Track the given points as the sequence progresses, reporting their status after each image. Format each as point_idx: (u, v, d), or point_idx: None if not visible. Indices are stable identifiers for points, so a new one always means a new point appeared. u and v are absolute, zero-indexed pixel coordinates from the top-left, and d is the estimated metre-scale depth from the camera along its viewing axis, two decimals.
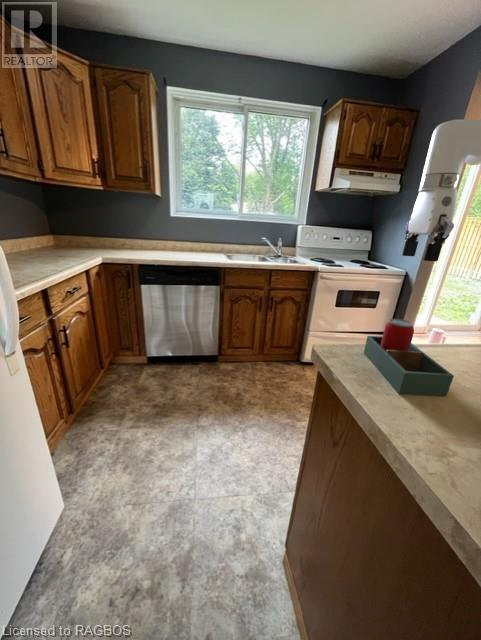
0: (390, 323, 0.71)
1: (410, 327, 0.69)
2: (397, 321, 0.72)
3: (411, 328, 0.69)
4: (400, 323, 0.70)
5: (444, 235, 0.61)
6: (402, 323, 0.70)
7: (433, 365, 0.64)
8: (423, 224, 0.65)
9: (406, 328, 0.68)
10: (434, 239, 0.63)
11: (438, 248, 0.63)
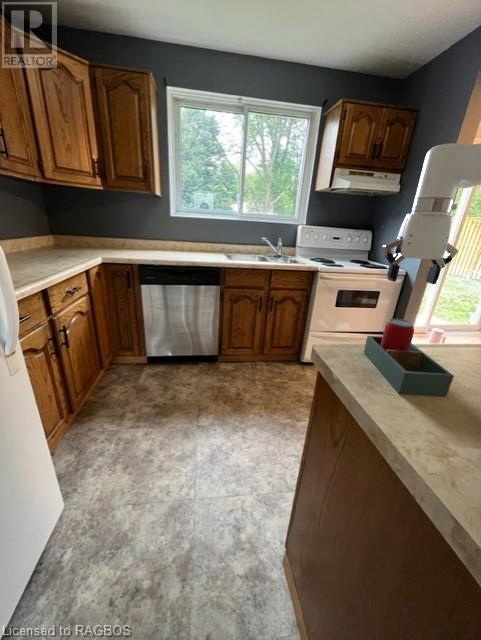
0: (390, 323, 0.71)
1: (410, 327, 0.69)
2: (397, 321, 0.72)
3: (411, 328, 0.69)
4: (400, 323, 0.70)
5: None
6: (402, 323, 0.70)
7: (433, 365, 0.64)
8: (435, 249, 0.63)
9: (406, 328, 0.68)
10: None
11: None
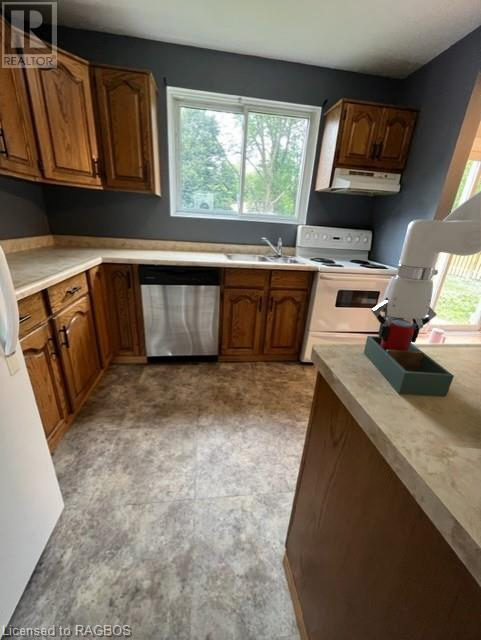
0: (390, 323, 0.71)
1: (410, 327, 0.69)
2: (397, 321, 0.72)
3: (411, 328, 0.69)
4: (400, 323, 0.70)
5: None
6: (402, 323, 0.70)
7: (433, 365, 0.64)
8: (418, 311, 0.67)
9: (406, 328, 0.68)
10: None
11: None
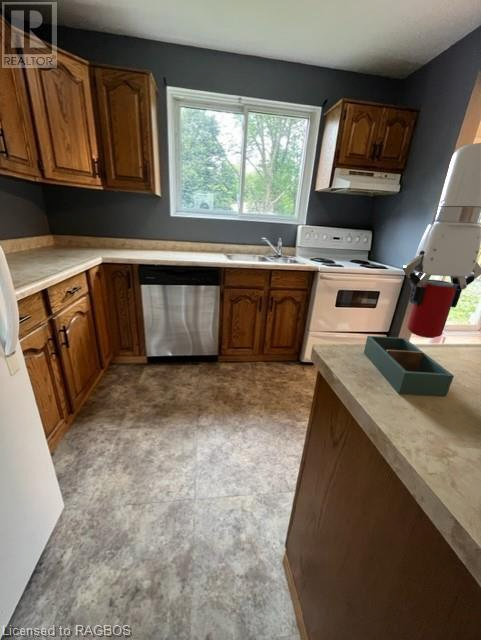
0: (425, 283, 0.58)
1: (451, 287, 0.56)
2: (433, 281, 0.59)
3: (452, 288, 0.56)
4: (438, 283, 0.57)
5: None
6: (440, 283, 0.57)
7: (433, 365, 0.64)
8: (462, 265, 0.54)
9: (446, 288, 0.55)
10: None
11: None
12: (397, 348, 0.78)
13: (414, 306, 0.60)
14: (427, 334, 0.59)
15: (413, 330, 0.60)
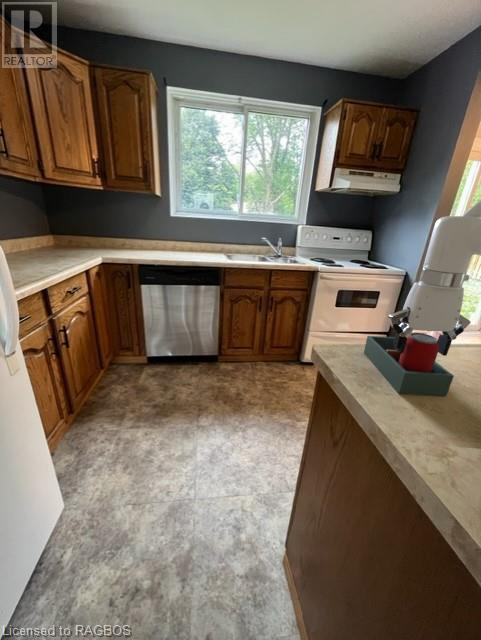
0: (411, 338, 0.62)
1: (435, 343, 0.59)
2: (419, 336, 0.63)
3: (436, 345, 0.60)
4: (423, 338, 0.61)
5: None
6: (425, 338, 0.61)
7: None
8: (445, 322, 0.58)
9: (430, 345, 0.59)
10: None
11: None
12: None
13: (401, 357, 0.64)
14: None
15: None
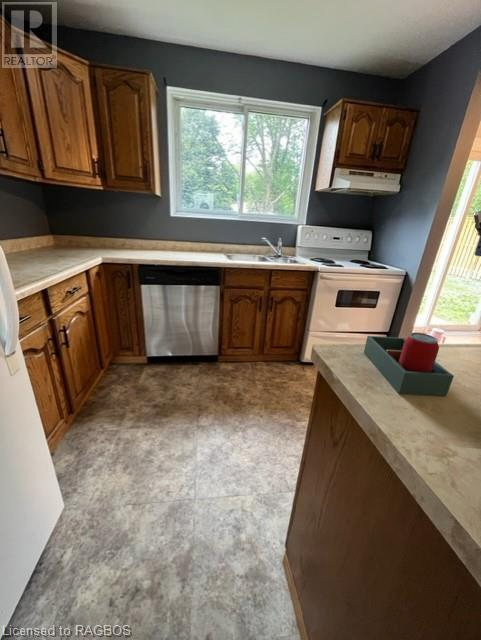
0: (411, 338, 0.62)
1: (435, 343, 0.59)
2: (419, 336, 0.63)
3: (436, 345, 0.60)
4: (423, 338, 0.61)
5: None
6: (425, 338, 0.61)
7: None
8: None
9: (430, 345, 0.59)
10: None
11: None
12: (397, 348, 0.78)
13: (401, 357, 0.64)
14: None
15: None
